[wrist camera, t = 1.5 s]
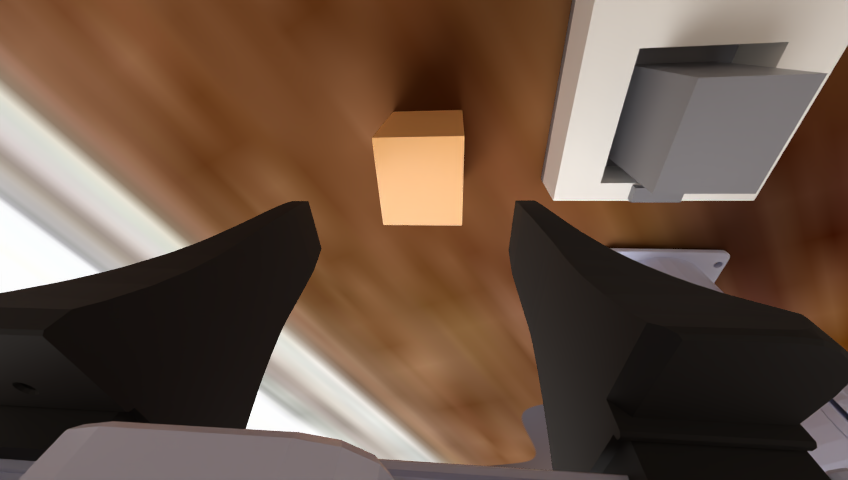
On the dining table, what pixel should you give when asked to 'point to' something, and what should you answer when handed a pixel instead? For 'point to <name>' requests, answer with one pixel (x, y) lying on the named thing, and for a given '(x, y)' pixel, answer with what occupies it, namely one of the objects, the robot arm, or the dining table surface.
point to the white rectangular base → (685, 95)
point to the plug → (420, 167)
